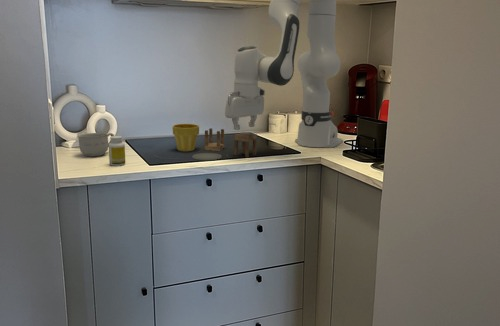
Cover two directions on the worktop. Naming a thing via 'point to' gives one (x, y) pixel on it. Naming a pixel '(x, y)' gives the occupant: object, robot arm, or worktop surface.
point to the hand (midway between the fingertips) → (244, 128)
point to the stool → (245, 143)
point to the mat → (206, 156)
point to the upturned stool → (214, 146)
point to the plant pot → (186, 136)
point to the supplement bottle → (116, 151)
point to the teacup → (94, 143)
